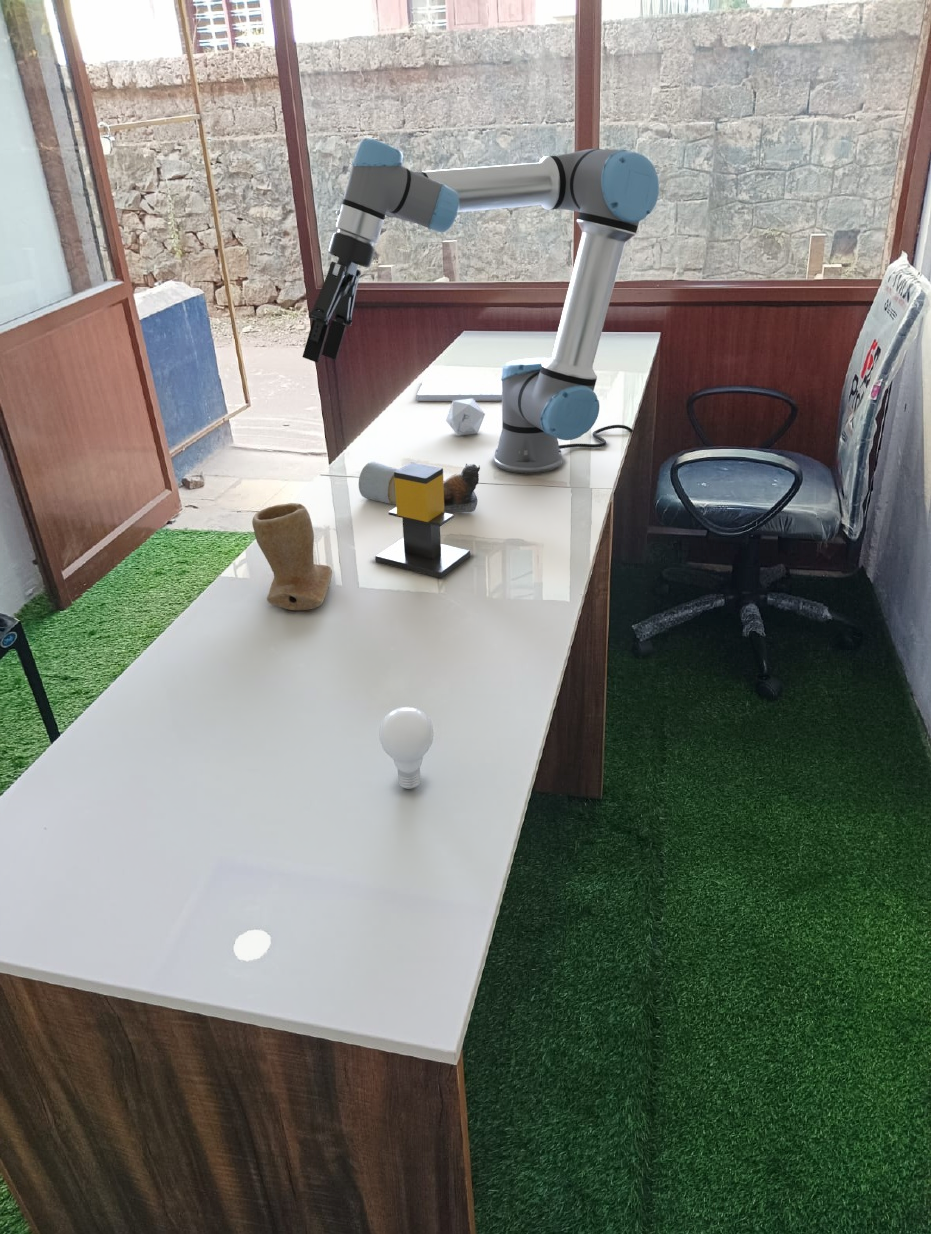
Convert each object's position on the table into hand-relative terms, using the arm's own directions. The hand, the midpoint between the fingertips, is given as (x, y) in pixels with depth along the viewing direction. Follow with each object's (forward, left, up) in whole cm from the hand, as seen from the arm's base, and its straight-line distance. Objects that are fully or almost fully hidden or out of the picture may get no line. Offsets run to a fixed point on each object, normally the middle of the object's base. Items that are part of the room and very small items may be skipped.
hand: (319, 358), depth 164 cm
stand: (-3, +24, -32) cm, 40 cm away
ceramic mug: (-15, -4, -33) cm, 36 cm away
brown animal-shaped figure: (-21, +10, -33) cm, 40 cm away
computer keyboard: (-83, -48, -33) cm, 102 cm away
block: (-3, +24, -23) cm, 34 cm away
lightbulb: (+36, +73, -33) cm, 87 cm away
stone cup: (+21, +20, -33) cm, 43 cm away
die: (-54, -26, -33) cm, 69 cm away
